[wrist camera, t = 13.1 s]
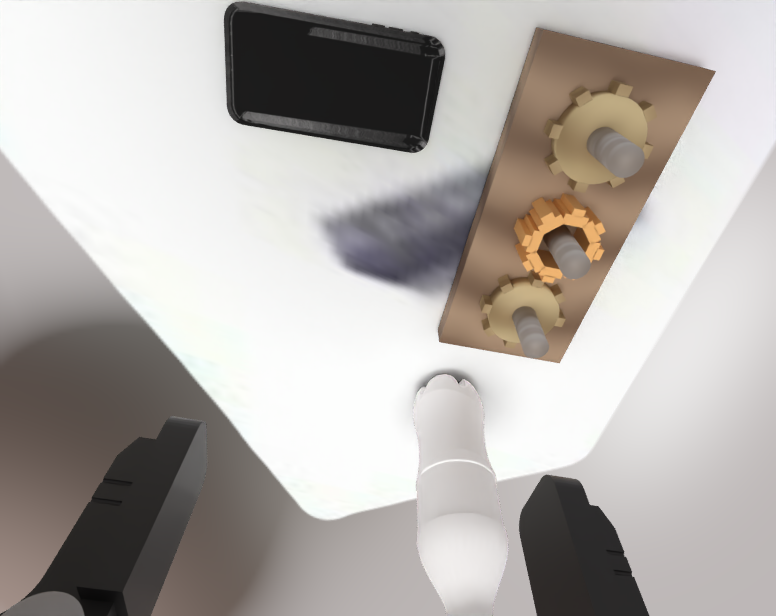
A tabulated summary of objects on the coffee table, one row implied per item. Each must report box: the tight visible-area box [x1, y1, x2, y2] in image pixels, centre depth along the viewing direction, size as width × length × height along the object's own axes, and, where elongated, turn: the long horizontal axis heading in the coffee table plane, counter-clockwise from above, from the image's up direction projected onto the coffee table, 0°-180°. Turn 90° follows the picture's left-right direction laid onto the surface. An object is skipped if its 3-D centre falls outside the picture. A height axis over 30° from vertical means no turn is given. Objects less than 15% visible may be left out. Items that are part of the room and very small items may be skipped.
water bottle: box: [413, 374, 508, 616], centre depth 41 cm, size 7×7×25 cm
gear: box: [514, 193, 606, 283], centre depth 37 cm, size 6×6×3 cm
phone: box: [224, 2, 445, 153], centre depth 34 cm, size 8×1×15 cm
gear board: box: [438, 28, 716, 363], centre depth 36 cm, size 26×12×8 cm, turn 169°
